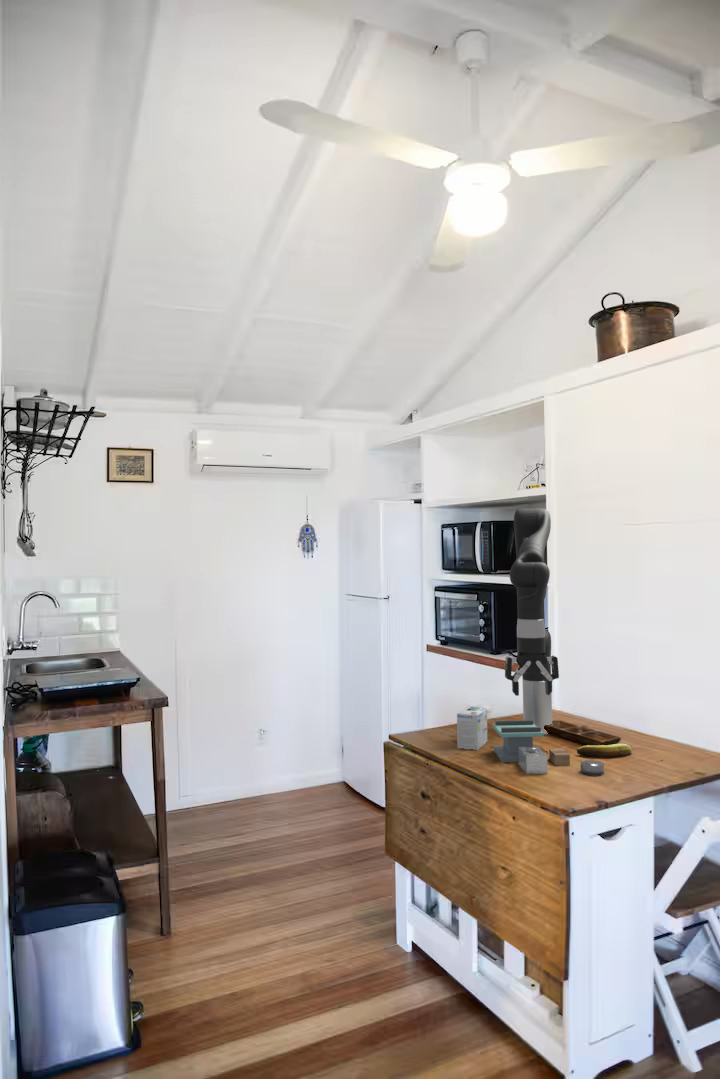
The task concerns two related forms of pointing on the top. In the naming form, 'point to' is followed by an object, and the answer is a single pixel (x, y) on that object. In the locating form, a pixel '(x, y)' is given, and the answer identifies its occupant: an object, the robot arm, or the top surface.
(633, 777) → the top surface
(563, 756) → the wood offcut
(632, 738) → the top surface
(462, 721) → the light bulb box
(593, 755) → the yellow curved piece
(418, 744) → the top surface
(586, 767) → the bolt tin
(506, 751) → the stand
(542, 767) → the block
